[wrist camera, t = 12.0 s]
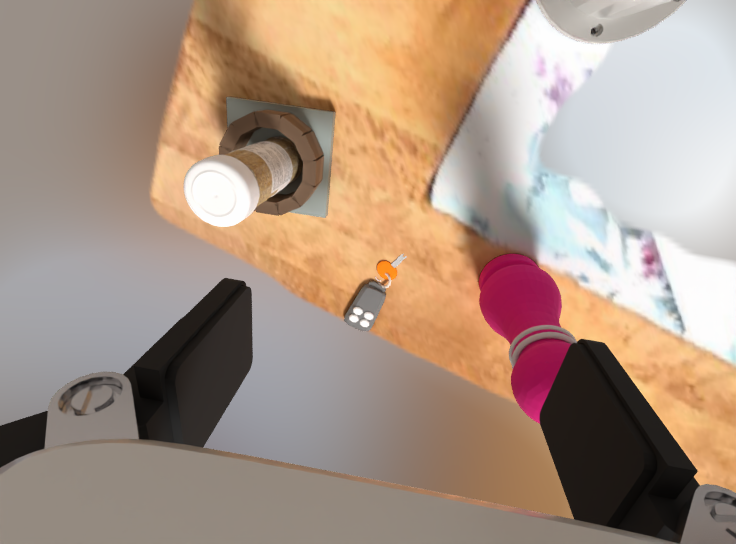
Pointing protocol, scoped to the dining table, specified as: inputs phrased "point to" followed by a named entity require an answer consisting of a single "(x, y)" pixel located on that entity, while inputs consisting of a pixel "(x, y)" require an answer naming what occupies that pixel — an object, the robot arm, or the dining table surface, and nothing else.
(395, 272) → the key chain
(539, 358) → the pepper mill
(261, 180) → the sprinkles bottle
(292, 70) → the dining table surface
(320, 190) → the collar
